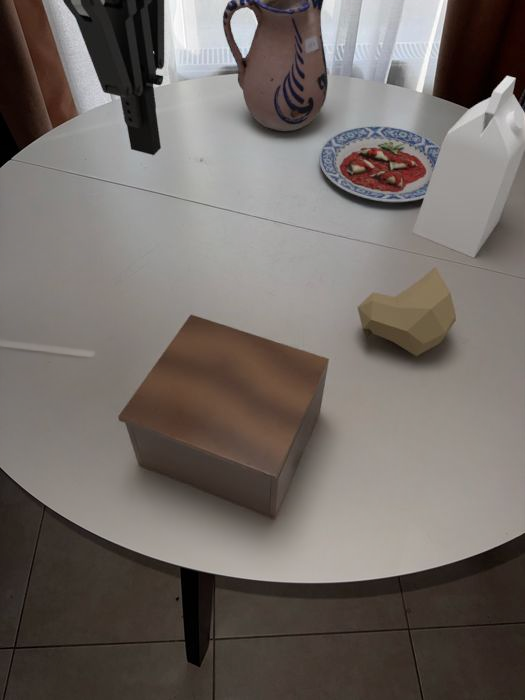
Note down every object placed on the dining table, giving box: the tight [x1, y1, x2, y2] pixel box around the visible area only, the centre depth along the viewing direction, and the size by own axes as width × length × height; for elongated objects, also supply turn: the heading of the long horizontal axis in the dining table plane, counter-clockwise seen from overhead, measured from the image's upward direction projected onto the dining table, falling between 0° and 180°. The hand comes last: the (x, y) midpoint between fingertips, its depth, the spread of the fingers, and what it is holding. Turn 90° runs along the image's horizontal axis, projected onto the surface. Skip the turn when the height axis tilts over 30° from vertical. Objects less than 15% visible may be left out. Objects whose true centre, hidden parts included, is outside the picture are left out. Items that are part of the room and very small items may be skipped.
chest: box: [125, 364, 329, 521], centre depth 72 cm, size 17×19×11 cm
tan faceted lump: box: [357, 266, 457, 357], centre depth 84 cm, size 15×11×12 cm
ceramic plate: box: [319, 126, 441, 203], centre depth 114 cm, size 26×26×3 cm
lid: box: [117, 314, 330, 480], centre depth 67 cm, size 17×19×1 cm
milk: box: [412, 75, 525, 259], centre depth 94 cm, size 12×12×26 cm
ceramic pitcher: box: [222, 0, 329, 132], centre depth 117 cm, size 18×21×25 cm
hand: (146, 148), depth 61 cm, fingers closed
